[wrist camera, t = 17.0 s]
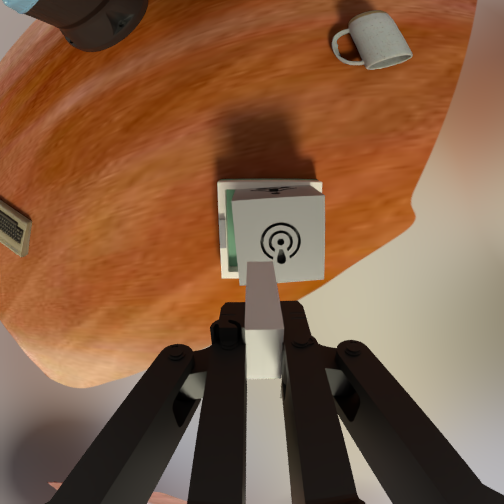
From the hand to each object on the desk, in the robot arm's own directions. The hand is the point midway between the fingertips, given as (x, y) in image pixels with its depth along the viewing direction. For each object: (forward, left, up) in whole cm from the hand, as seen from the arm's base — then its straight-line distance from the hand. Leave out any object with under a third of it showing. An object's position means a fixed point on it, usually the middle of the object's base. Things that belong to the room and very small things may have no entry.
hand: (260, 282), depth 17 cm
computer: (-51, -1, -27) cm, 58 cm away
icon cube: (+3, -3, -25) cm, 25 cm away
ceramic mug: (+17, +25, -27) cm, 40 cm away
